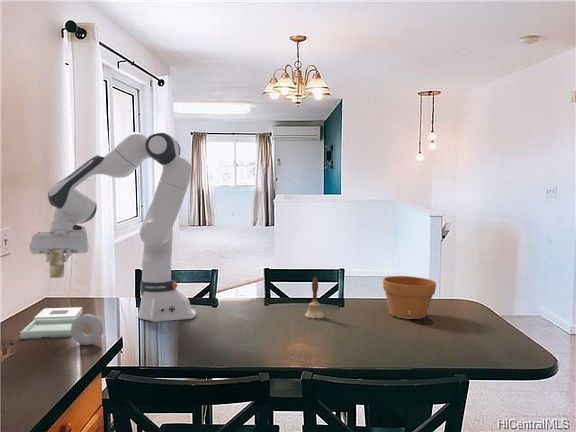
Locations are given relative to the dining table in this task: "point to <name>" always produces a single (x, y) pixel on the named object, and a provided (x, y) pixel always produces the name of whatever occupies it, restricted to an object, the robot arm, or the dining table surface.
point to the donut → (91, 321)
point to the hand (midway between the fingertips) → (56, 261)
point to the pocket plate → (59, 313)
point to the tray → (48, 328)
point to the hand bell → (314, 303)
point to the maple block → (56, 263)
